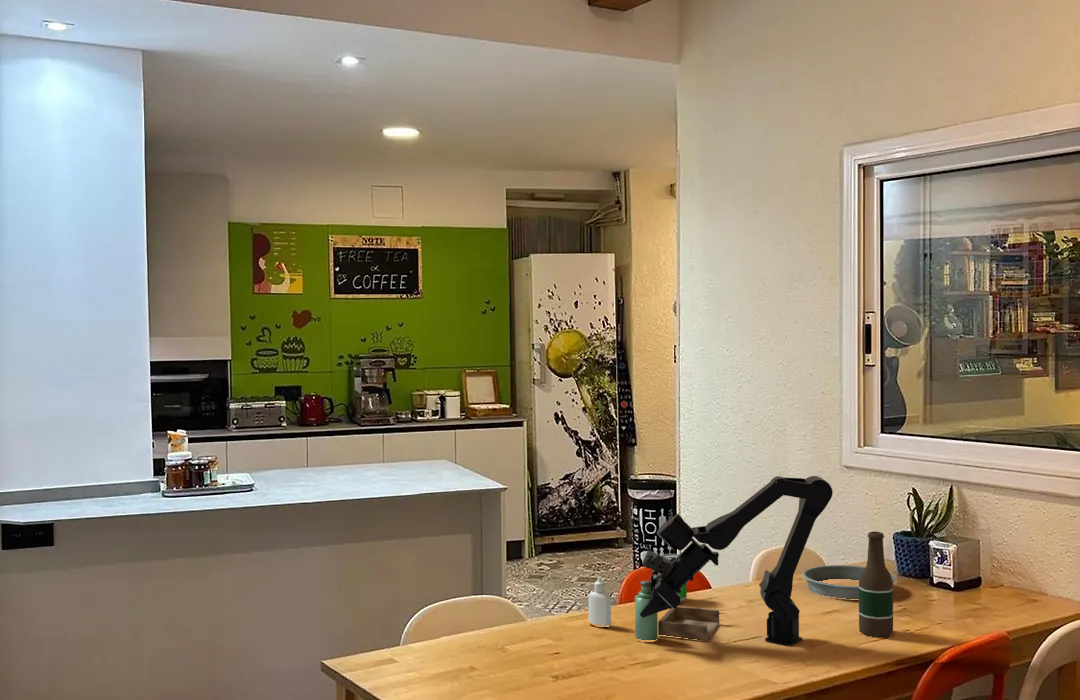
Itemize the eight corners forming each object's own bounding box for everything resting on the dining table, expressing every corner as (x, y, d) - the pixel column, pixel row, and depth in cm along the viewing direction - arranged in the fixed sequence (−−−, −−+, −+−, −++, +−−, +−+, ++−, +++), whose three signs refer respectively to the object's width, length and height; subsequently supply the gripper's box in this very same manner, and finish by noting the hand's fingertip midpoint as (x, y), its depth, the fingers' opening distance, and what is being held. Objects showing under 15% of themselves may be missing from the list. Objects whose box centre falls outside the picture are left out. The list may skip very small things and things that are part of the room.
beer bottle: (895, 639, 237) (895, 536, 236) (860, 637, 238) (860, 535, 238) (890, 629, 244) (890, 529, 244) (857, 627, 246) (856, 528, 245)
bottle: (662, 639, 238) (661, 581, 238) (649, 644, 234) (648, 586, 234) (643, 634, 242) (643, 578, 241) (630, 639, 238) (630, 582, 238)
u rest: (719, 624, 250) (719, 610, 250) (706, 641, 236) (706, 626, 236) (673, 619, 254) (673, 605, 254) (658, 636, 240) (658, 621, 240)
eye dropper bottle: (603, 621, 253) (602, 573, 252) (612, 628, 247) (612, 578, 247) (587, 623, 251) (586, 575, 251) (596, 630, 246) (595, 580, 246)
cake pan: (836, 575, 298) (836, 560, 298) (913, 592, 279) (913, 575, 279) (784, 590, 282) (783, 574, 282) (862, 608, 263) (862, 591, 263)
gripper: (660, 531, 247) (615, 576, 248) (665, 548, 228) (616, 597, 229) (693, 564, 246) (647, 609, 247) (701, 583, 228) (651, 632, 229)
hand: (640, 610), depth 238 cm, fingers open, 8 cm apart
